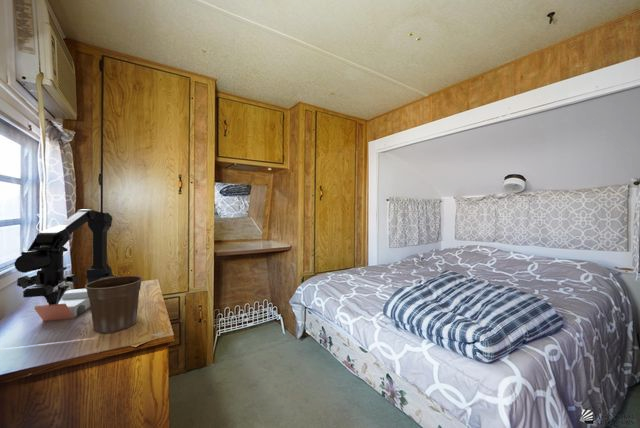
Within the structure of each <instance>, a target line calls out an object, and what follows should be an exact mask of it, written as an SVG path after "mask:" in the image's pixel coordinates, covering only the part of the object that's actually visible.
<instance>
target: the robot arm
mask: <svg viewBox="0 0 640 428" xmlns="http://www.w3.org/2000/svg"><path fill="white" fill-rule="evenodd" d="M86 223H87V226H88V227H87V228H89V230H90V232H92V265H91V267H90V268H88V269H87V270H86V281H87V284H88V283H90V282H93V281H97V280H99V279H100V278H103V277H109V276H115V275H114V274H113V273H112V268H111V266H110V265H109V264H108V231H109V230H110V229H111V227H112V223H113V216H112V215H110V213H109V212H101V211H97V210H95V209H85V208H84V209H83V208H82V209H78V210H77V211H76V212H75V213H73V215H71V216H70V217H68V218H67V219H65V220H63V222H61V223H59V224H58V225H56V226H54V227H50V228H46V229H44V230H42V231H40V232H38V233H37V235H36V236H35V238H34V240H32V243H31V245H30V246H29V247H28V249H27V251H22V252H21V253H20V256H18V257H17V258H16V259H15V262H13V263H14V268H15V270H16V271H18V272H20V273H22V274H23V273H24V274H25V273H30V272H34V271H36V274H35V275H32V276H29V275H23V276H20V277H18V278H17V281H16V286H17V287H19V288H21V289H23V291H22V298H24V299H25V298H36V297H37V298H38V297H44V298H45V300H46V302H47V303H48V304H47V305H53V304H58V303H59V301H61V300H62V296H63V294H64V293H65V292H67V289H68V288H69V285H65V283H70V282H71V284H74V283H76V282H78V281H79V277H78V275H77V274H76V273H75V274H64V273H65V272H64V271H65V270H67V266H64V252H65V253H66V252H67V251H69V249H68V248H66V247H65V245H66V244H67V243H68V242H69V240H71V235H72V234H74V232H75V231H77V230H78V229H79V228H81V227H82V226H83V225H85V224H86Z"/></svg>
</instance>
